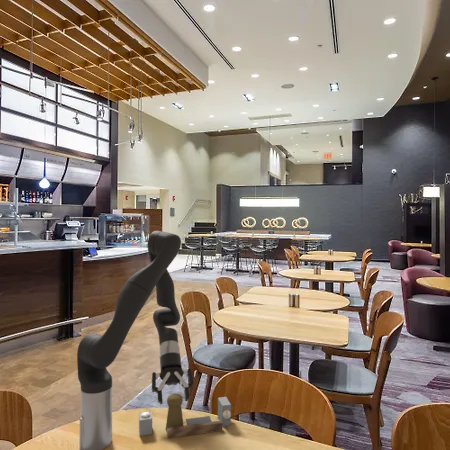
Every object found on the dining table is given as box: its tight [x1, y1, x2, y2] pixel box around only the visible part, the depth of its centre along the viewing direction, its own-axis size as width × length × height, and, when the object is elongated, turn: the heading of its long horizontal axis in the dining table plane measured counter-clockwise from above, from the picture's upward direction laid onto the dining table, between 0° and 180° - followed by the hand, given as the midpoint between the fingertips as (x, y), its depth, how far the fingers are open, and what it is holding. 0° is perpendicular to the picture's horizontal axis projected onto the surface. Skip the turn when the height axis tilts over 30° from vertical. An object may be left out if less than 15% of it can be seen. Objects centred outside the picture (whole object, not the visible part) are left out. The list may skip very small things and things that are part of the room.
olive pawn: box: [165, 393, 185, 432], centre depth 122 cm, size 6×6×11 cm
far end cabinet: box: [217, 396, 232, 427], centre depth 126 cm, size 3×7×7 cm, turn 15°
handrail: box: [166, 420, 224, 439], centre depth 120 cm, size 18×2×2 cm, turn 105°
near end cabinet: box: [138, 410, 153, 437], centre depth 121 cm, size 4×5×6 cm
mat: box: [185, 415, 213, 425], centre depth 125 cm, size 8×8×1 cm
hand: (174, 402), depth 124 cm, fingers open, 8 cm apart
